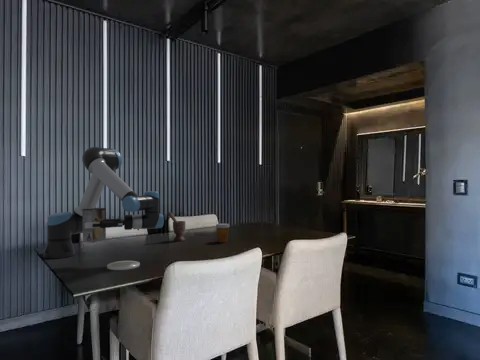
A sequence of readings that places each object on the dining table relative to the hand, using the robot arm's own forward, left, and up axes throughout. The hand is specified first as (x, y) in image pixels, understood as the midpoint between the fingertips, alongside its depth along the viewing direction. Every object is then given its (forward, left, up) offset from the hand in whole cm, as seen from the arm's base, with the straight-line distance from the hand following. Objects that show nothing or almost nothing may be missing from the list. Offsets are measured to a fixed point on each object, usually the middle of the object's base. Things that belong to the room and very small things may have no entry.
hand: (85, 224), depth 168 cm
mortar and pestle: (+47, +61, -20) cm, 80 cm away
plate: (+19, -6, -20) cm, 28 cm away
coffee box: (+4, +1, -9) cm, 10 cm away
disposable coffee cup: (+77, +51, -20) cm, 94 cm away
